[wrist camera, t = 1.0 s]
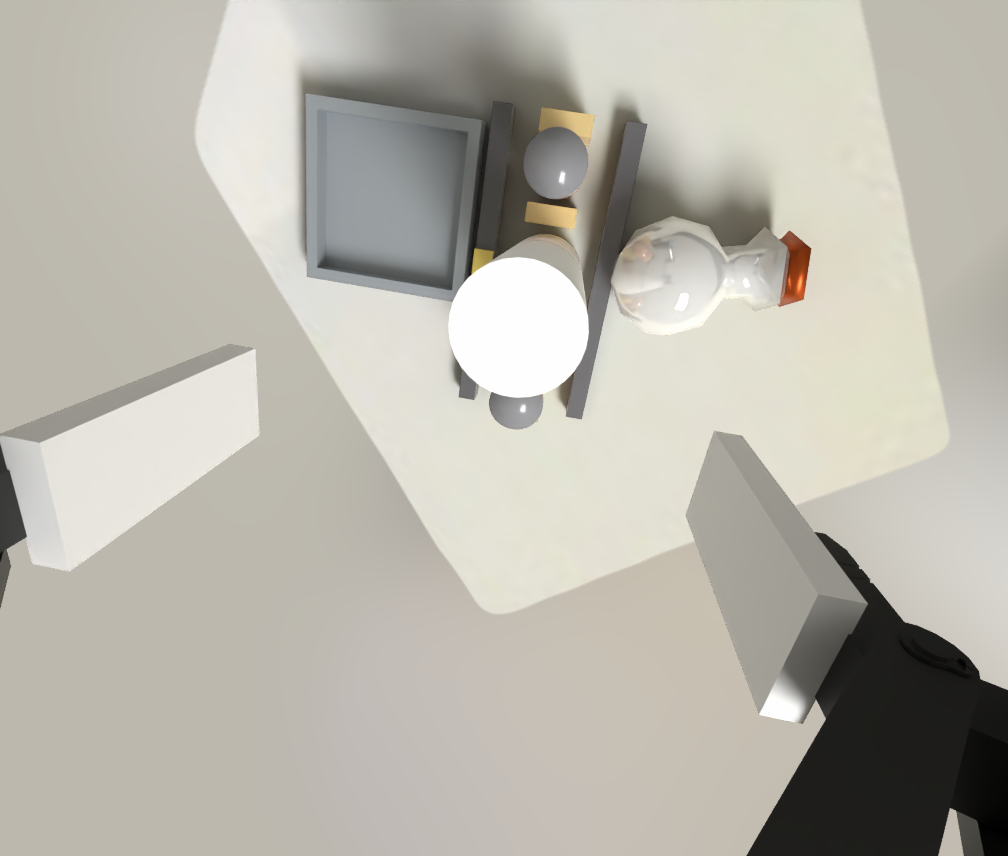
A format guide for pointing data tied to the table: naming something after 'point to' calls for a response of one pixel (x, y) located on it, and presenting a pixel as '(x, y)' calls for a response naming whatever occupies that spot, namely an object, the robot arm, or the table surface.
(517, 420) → the fuse
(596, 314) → the fuse holder
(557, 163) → the cylinder
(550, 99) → the table surface
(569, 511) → the table surface
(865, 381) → the table surface
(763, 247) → the potion bottle
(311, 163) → the tray
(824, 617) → the robot arm
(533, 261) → the cylindrical container
